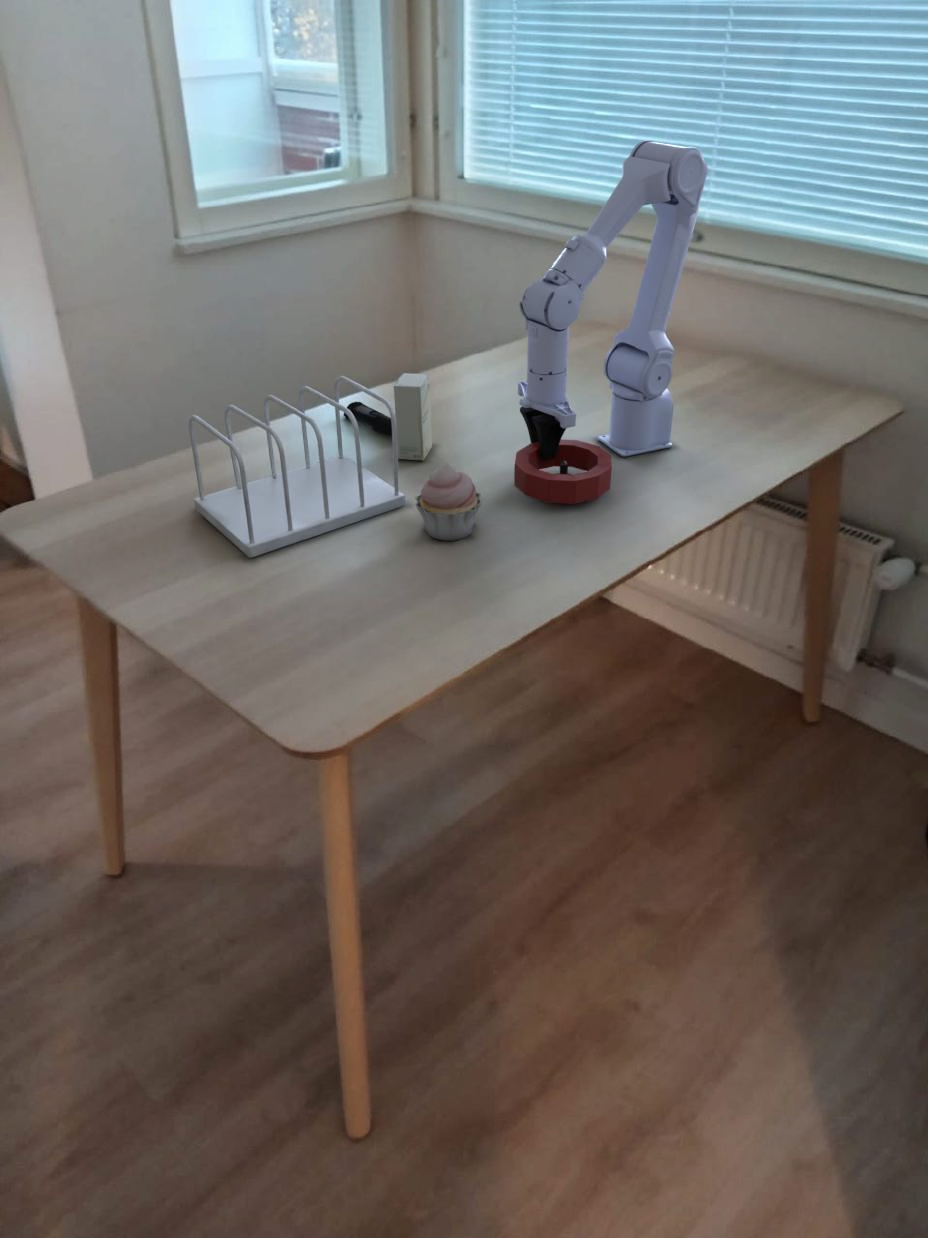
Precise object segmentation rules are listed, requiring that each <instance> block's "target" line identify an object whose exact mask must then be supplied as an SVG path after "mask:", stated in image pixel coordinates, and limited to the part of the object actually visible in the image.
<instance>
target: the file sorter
mask: <svg viewBox="0 0 928 1238" xmlns="http://www.w3.org/2000/svg"><path fill="white" fill-rule="evenodd" d="M340 381H342V382H344V383H346V384H347V385H349V386H351V387H353V388H355V389H357V390H359V391H361V392H363V393H365V394H366V395H368V396H370V397H372V398H373V399H376V401H377V400H378V401H379V402H381V403H382V404H383V405H385V407H386V409H387V410H388V412H389V417H390V418H391V422H392V436H391V440H392V441H391V444H392V445H391V446H392V474H393V475H392V477H393V486H392V485H390V484H389V483H387V482H386V481H385V480H383V479H381V478H380V477H378V476H377V475H375V474H374V473H372V472H371V471H369V470H368V469H367V468H365V467H363V465H362V463H363V462H362V453H361V439H360V430H359V425H358V420H356V419H355V417H354V415H353V414H352V412H351V411H350V410H349V409H348V408H347V406H345V405H343V404H341V403H340V395H339V384H340ZM299 389H300V390H299V393H298V402H299V405H298V406H299V409H297V408H296V407H294V406H292V405H290V404H289V403H287V402H285V401H284V400H282V399H280V398H278V397H276V396H275V395H272V394H268V395H266V396H264V398H263V403H262V405H263V406H262V407H263V417H264V422H262V421H261V420H259V419H258V418H257V417H255V416H253V415H251V414H249V413H248V412H246V411H244V410H242V409H241V408H239V407H237V406H235V405H234V404H228V405H226V407H224V411H223V417H224V425H225V430H226V436H227V437H226V436H225V435H223V434H222V433H221V432H219V431H218V430H217V429H216V428H214V427H213V426H211V424H209V423H208V422H206V421H205V420H204V419H203V418H201V417H200V416H198V415H196V414H192V415H190V416H189V418H188V430H189V438H190V445H191V451H192V456H193V462H194V469H195V474H196V481H197V487H198V492H199V493H198V494H199V496H198V497H195V498H194V499H193V500H194V507H195V508H194V509H195V510H196V511H197V512H198V513H199V514H200V515H201V516H203V518H204V519H206V520H207V521H208V522H209V523H210V524H211V525H212V526H213V527H215V528H216V529H217V530H218V531H219V532H220V533H221V534H222V535H224V536H225V537H226V538H227V539H228V540H229V541H230V542H231V543H232V544H234V545H235V546H236V547H237V548H238V549H239V550H240V551H241V552H243V554H244V555H245V556H247V557H248V558H250V559H251V558H255V557H257V556H260V555H263V554H266V553H269V552H272V551H275V550H278V549H281V548H284V547H287V546H290V545H293V544H296V543H299V542H302V541H305V540H308V539H310V538H313V537H316V536H319V535H322V534H325V533H328V532H332V531H334V530H337V529H341V528H344V527H346V526H349V525H352V524H354V523H358V522H361V521H363V520H367V519H370V518H372V517H375V516H378V515H380V514H383V513H386V512H389V511H393V510H395V509H398V508H401V507H404V506H406V494H404V493H402V492H401V491H400V489H399V488H400V487H399V461H398V460H399V459H398V446H397V423H396V415H395V408H394V407H393V405H392V403H391V402H390V401H389V400H388V399H387V398H386V397H384V396H382V395H380V394H379V393H377V392H375V391H373V390H371V389H369V388H367V387H365V386H364V385H362V384H360V383H358V382H356V381H355V380H352V379H351V378H349V377H347V376H345V375H339V376H337V377H336V378H335V379H334V383H333V397H334V399H332V398H330V397H328V396H326V395H325V394H323V393H320V392H319V391H318V390H316V389H314V388H312V387H310V386H309V385H308V386H307V385H305V386H302V387H301V388H299ZM305 391H306V392H308V393H309V394H311V395H313V396H314V397H316V398H318V399H320V400H322V401H323V402H325V403H327V404H329V405H330V406H332V407H334V412H335V424H336V437H337V451H338V452H337V453H338V455H337V456H334V457H330V458H327V459H325V453H324V452H325V451H324V444H323V438H322V433H321V430H320V429H319V426H318V424H317V423H316V421H315V420H314V419H313V418H312V417H311V416H309V415H308V414H306V412H305V403H304V394H305ZM269 401H272V402H273V403H275V404H277V405H279V406H280V407H281V408H283V409H286V410H287V411H289V412H291V413H292V414H294V415H296V416H297V417H298V418H300V420H301V421H300V422H301V431H302V432H301V433H302V441H303V442H302V443H303V451H304V459H305V465H303V466H300V467H296V468H292V469H290V470H287V463H286V454H285V449H284V445H283V442H282V440H281V437H280V436H279V434H278V433H277V431H276V430H275V429H273V428H272V427H271V423H270V422H271V421H270V413H269ZM230 411H232V412H234V413H236V414H237V415H239V416H241V417H242V418H244V419H246V420H248V421H249V422H251V423H253V424H254V425H256V426H257V427H259V428H261V429H262V430H264V431H265V433H266V440H267V447H268V456H269V463H270V470H271V475H269V476H265V477H262V478H259V479H255V480H252V481H249V482H247V476H246V468H245V463H244V460H243V457H242V454H241V452H240V449H238V447H237V445H236V444H235V443H234V439H233V433H232V427H231V421H230ZM340 411H341V412H343V414H344V413H346V414H347V415H348V417H349V418H350V419H349V420H350V422H351V425H352V428H353V432H354V433H353V435H354V444H355V456H356V461H354V460H353V459H351V458H349V457H348V456H346V455H345V454H344V453H343V452H344V451H343V439H342V426H341V425H342V424H341V412H340ZM195 422H196V423H198V424H199V425H200V426H201V427H203V428H204V429H206V430H207V431H208V432H209V433H210V434H212V435H213V436H215V437H216V438H218V439H219V440H220V441H221V442H223V444H225V445H227V446H228V447H229V452H230V459H231V462H232V468H233V475H234V480H235V484H236V485H235V486H231V487H228V488H225V489H222V490H218V491H215V492H211V493H209V494H206V495H205V493H204V492H205V491H204V486H203V484H204V483H203V478H202V477H203V476H202V471H201V465H200V459H199V453H198V447H197V440H196V433H195V427H194V426H195V424H194V423H195ZM307 423H309V425H310V426H311V427H312V429H313V431H314V433H315V434H314V435H315V437H316V442H317V450H318V451H317V452H318V461H317V462H314V463H311V460H310V451H309V450H310V449H309V442H308V431H307ZM272 439H274V440H275V443H276V446H277V448H278V454H279V460H280V469H281V470H280V471H281V472H278V473H277V472H276V463H275V454H274V448H273V447H274V445H273V440H272Z"/></svg>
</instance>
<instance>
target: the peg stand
mask: <svg viewBox="0 0 928 1238" xmlns="http://www.w3.org/2000/svg"><path fill="white" fill-rule="evenodd" d="M555 474H569V475H573V474H574V473H569V467H568V463H567V462H566V461H562V462H561V463H560V467H559V472H558V473H555Z"/></svg>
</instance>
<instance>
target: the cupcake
mask: <svg viewBox="0 0 928 1238" xmlns="http://www.w3.org/2000/svg"><path fill="white" fill-rule="evenodd" d="M481 497H482V493H481V492H477V488H476V486H475V484H474V483H473V480H472V477H470V476H469V474H467V473H465V472H463V471H461V470H457V469H456V468H455V467H454V466H453V465H452V464H450V463H448V462H447V463H446V464H445V465H443V466H442V467H440V468H437V469H436V470H433V471H432V472H431V473H430V474H429V477H428V480H427V481H425V482H424V483H423V485H422V487H421V490H420V494H418V495H416V496H415V497H414V499H415V501H416V503H415V508H416V509H417V511H418V512H419V514H420V516H421V517H422V522H423V524H424V528H425V531H426V533H427V534H428V535H429V536H430V537H431V538H433V539H436V540H439V541H444V542H445V541H446V542H452V541H458V540H462V539H464V538H467V536H469V535H470V534H471V532H472V531H473V527H474V524H475V520H476V517H477V515H478V514H477V513H478V511H479V509H480V508H481V506H482V504H483V500H482V499H481Z"/></svg>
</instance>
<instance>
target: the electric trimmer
mask: <svg viewBox="0 0 928 1238" xmlns="http://www.w3.org/2000/svg"><path fill="white" fill-rule="evenodd" d="M346 408H348V409H349V410H350V411H351V412H352V414H353V415H354V417H355V419H356V421H357V422H360V423H362V424H365V425H367V426H369V427H371V428H372V431H374V432H377V433H380V434H383V435H386V436H389V437H392V422H391V416H388V415H386V414H384V413H382V412H380V411H378V410H377V409H374V408H372V407H370V406H367V405H366V404H364V403H363V402H362V401H353V402H351V403H349V404H348V405H347V406H346ZM343 417H345V420H350V418H349V417H348V415H347V414H346V413H344V412H343Z"/></svg>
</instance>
